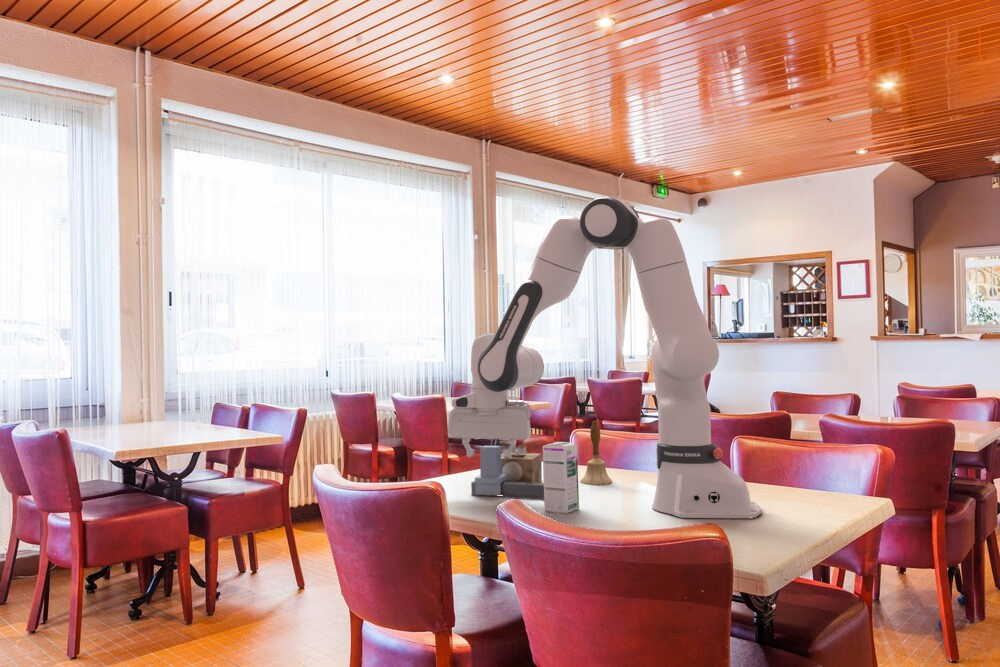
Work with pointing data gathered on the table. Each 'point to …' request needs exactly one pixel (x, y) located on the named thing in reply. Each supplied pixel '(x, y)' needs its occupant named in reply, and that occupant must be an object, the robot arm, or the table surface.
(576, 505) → the syrup box
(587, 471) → the hand bell
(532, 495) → the rail
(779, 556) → the table surface
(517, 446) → the red capped bottle
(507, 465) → the brown wooden block
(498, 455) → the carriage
